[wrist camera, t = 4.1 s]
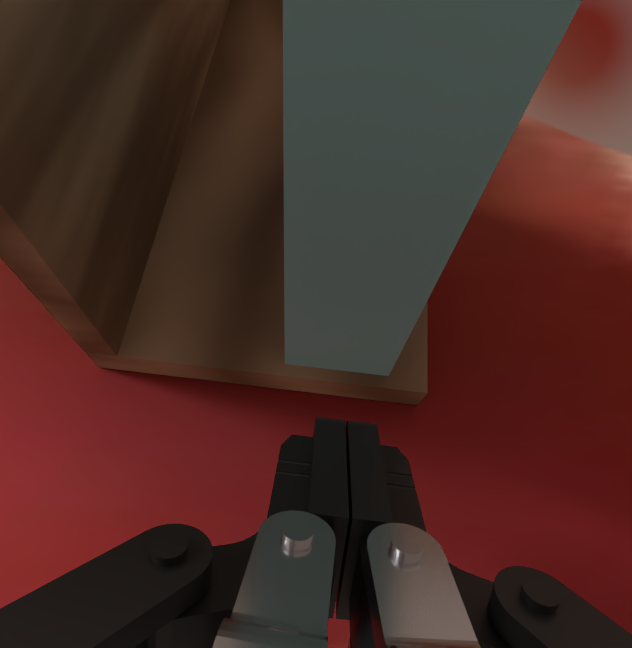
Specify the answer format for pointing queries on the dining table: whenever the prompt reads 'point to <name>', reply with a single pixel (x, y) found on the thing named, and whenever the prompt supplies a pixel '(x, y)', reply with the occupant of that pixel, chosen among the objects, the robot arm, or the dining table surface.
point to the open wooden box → (160, 189)
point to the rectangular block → (392, 155)
